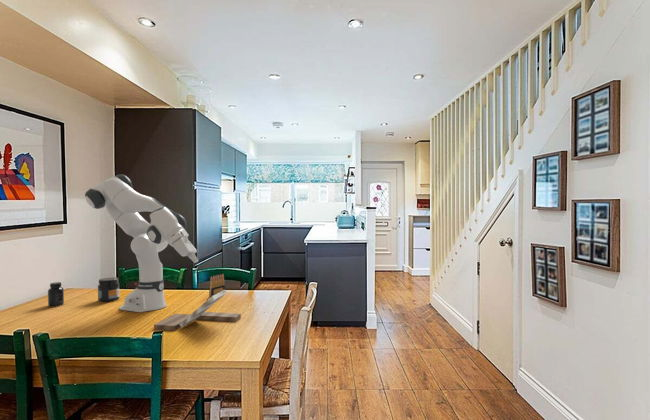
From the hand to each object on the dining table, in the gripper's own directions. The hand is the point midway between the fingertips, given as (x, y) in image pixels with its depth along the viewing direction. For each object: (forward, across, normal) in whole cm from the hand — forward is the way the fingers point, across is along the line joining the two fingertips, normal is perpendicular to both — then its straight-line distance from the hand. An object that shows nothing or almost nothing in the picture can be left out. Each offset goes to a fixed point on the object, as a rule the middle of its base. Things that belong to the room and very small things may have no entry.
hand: (196, 262), depth 166 cm
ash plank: (+19, +2, -9) cm, 21 cm away
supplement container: (-16, -52, -58) cm, 80 cm away
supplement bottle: (-30, -45, -78) cm, 95 cm away
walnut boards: (+23, -2, -16) cm, 28 cm away
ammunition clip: (+18, -54, -11) cm, 58 cm away
